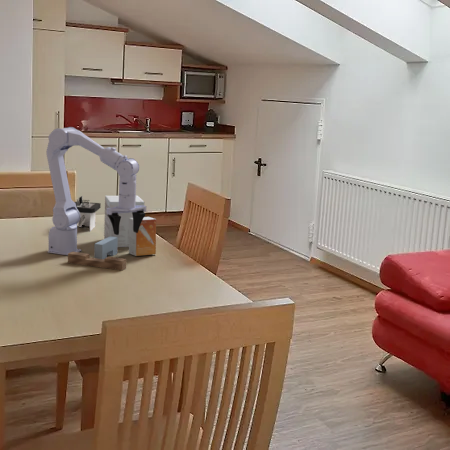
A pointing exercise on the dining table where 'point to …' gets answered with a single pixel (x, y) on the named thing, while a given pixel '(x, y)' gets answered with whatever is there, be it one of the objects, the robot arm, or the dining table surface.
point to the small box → (143, 237)
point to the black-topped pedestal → (87, 212)
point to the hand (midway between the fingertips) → (126, 233)
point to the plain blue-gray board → (106, 247)
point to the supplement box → (124, 221)
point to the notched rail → (97, 261)
